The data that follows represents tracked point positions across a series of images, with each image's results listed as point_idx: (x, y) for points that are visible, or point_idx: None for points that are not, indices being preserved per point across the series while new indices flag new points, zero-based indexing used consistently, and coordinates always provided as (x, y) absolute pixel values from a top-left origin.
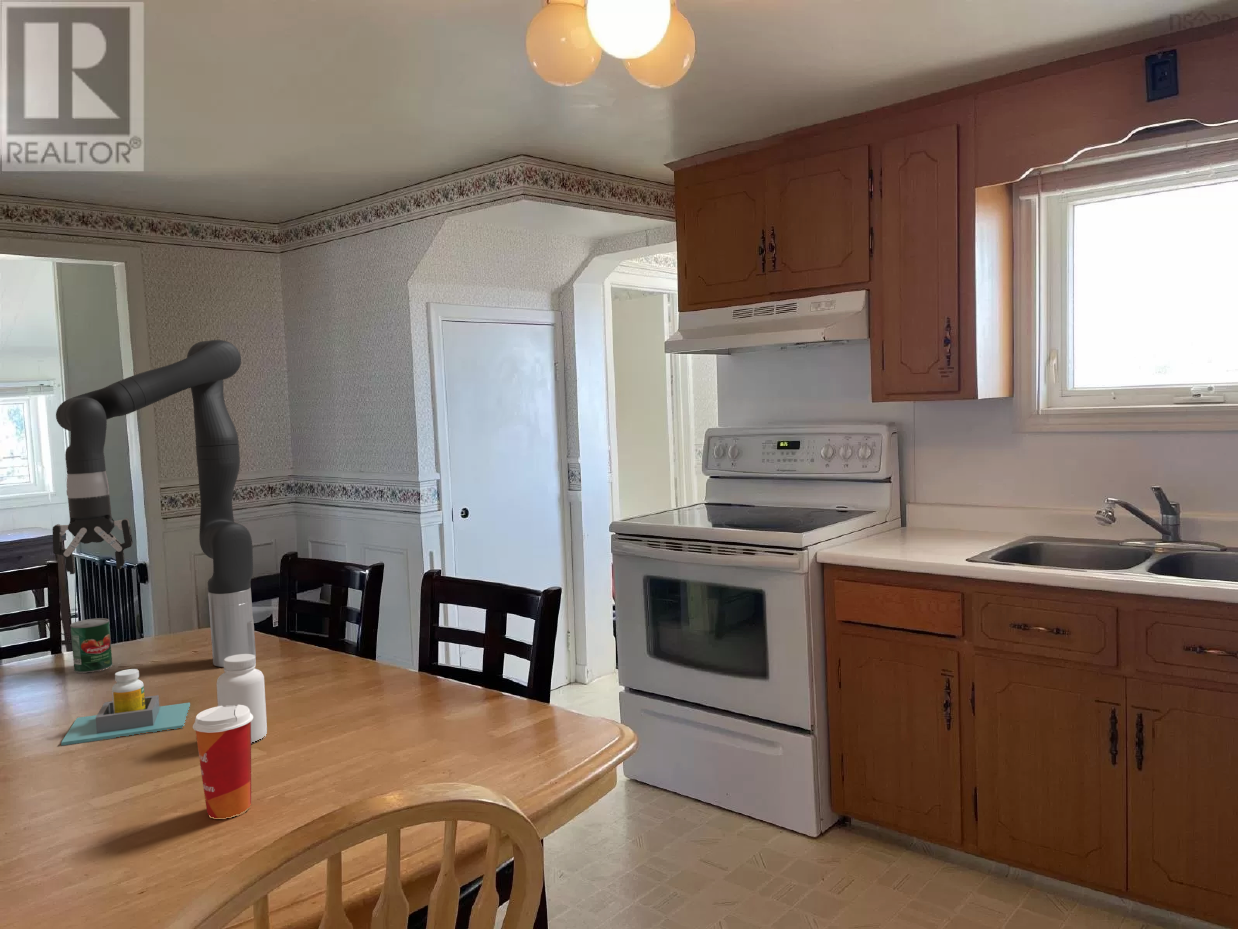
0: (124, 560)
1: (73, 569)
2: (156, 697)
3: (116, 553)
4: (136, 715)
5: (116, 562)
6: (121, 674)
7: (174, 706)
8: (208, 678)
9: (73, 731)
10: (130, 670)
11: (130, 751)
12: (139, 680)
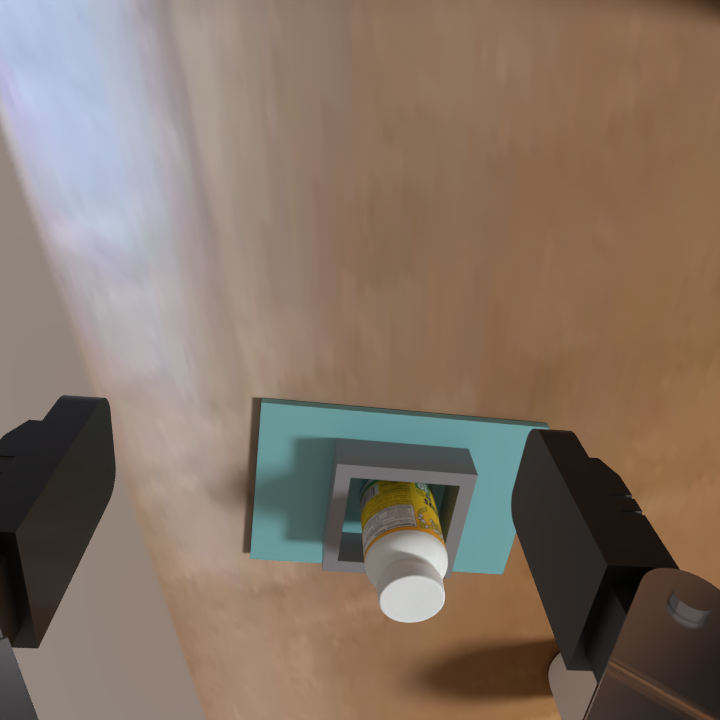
0: (628, 493)
1: (99, 511)
2: (470, 493)
3: (576, 655)
4: None
5: (533, 565)
6: (396, 613)
7: (507, 440)
8: (666, 156)
9: (266, 503)
10: (423, 590)
11: (390, 636)
12: (440, 573)
